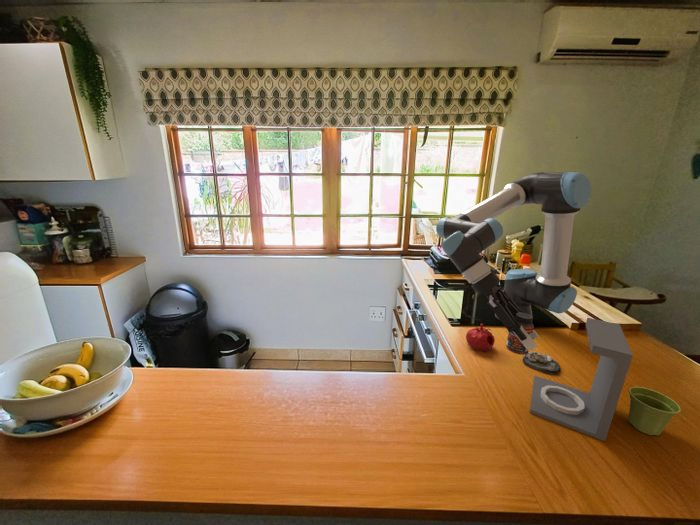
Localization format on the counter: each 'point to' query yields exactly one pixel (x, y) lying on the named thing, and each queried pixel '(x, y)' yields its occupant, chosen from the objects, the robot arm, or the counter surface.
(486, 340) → the pomegranate
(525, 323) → the supplement bottle
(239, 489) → the counter surface
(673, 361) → the counter surface
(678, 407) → the plant pot
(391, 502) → the counter surface
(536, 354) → the dark grey oval piece
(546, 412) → the seat stand
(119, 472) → the counter surface
